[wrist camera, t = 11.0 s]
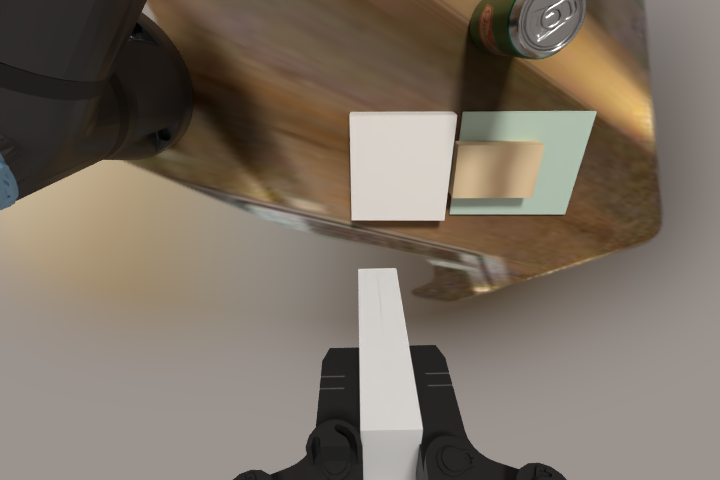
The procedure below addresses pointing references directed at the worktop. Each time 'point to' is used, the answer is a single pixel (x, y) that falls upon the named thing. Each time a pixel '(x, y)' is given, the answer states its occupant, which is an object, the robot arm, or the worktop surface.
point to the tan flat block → (495, 168)
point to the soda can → (526, 26)
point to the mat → (558, 162)
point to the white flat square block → (400, 164)
